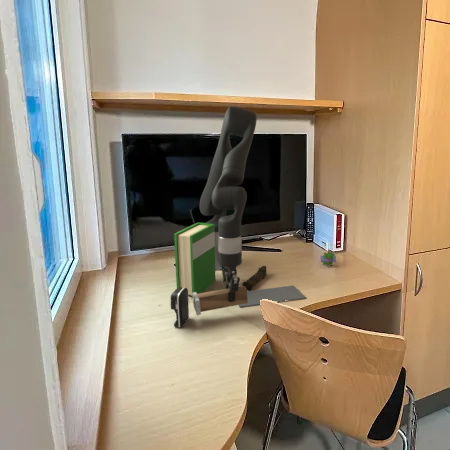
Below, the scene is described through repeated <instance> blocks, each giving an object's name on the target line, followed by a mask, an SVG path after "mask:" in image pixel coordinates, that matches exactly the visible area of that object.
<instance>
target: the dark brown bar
mask: <svg viewBox="0 0 450 450" xmlns="http://www.w3.org/2000/svg"><path fill="white" fill-rule="evenodd" d="M266 277H267V266H266V265H262V266H260V267H259V268H257V272H255V273H254V274H252V276H251V277H248V279H247V280H245V281H244V280H243V282H242V283H241V284H242V285H241V286H245V287H246V289H247V291H252V290H253V288H254V287H255V286H256V285H257V284H258V283H259V282H261V280H264V279H265V278H266Z"/></svg>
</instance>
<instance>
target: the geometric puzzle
mask: <svg viewBox="0 0 450 450" xmlns="http://www.w3.org/2000/svg"><path fill="white" fill-rule="evenodd" d="M320 262H321V263H322V265H325V266H327V267H328V268H330V267H331V266H333V265H334V263H335V264H337V256H336V255H335V253H334V252H333V251H330V250H327V252H323V254H322V255H320Z"/></svg>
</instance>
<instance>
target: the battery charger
mask: <svg viewBox="0 0 450 450" xmlns="http://www.w3.org/2000/svg"><path fill="white" fill-rule="evenodd" d="M170 309H171V310H173V311H174V312H175V315H176V318H175V319H176V320H175V321H174V323H173V326H174V327H175V328H183V327H184V326H185V324H186V323H187V321H188V320H189V319H190V316H189V315H190V312H189V310H190V309H189V295H188V289H187V288H177V287H176V289H175V290H174V291H173V292H172V293H171V295H170Z"/></svg>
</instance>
